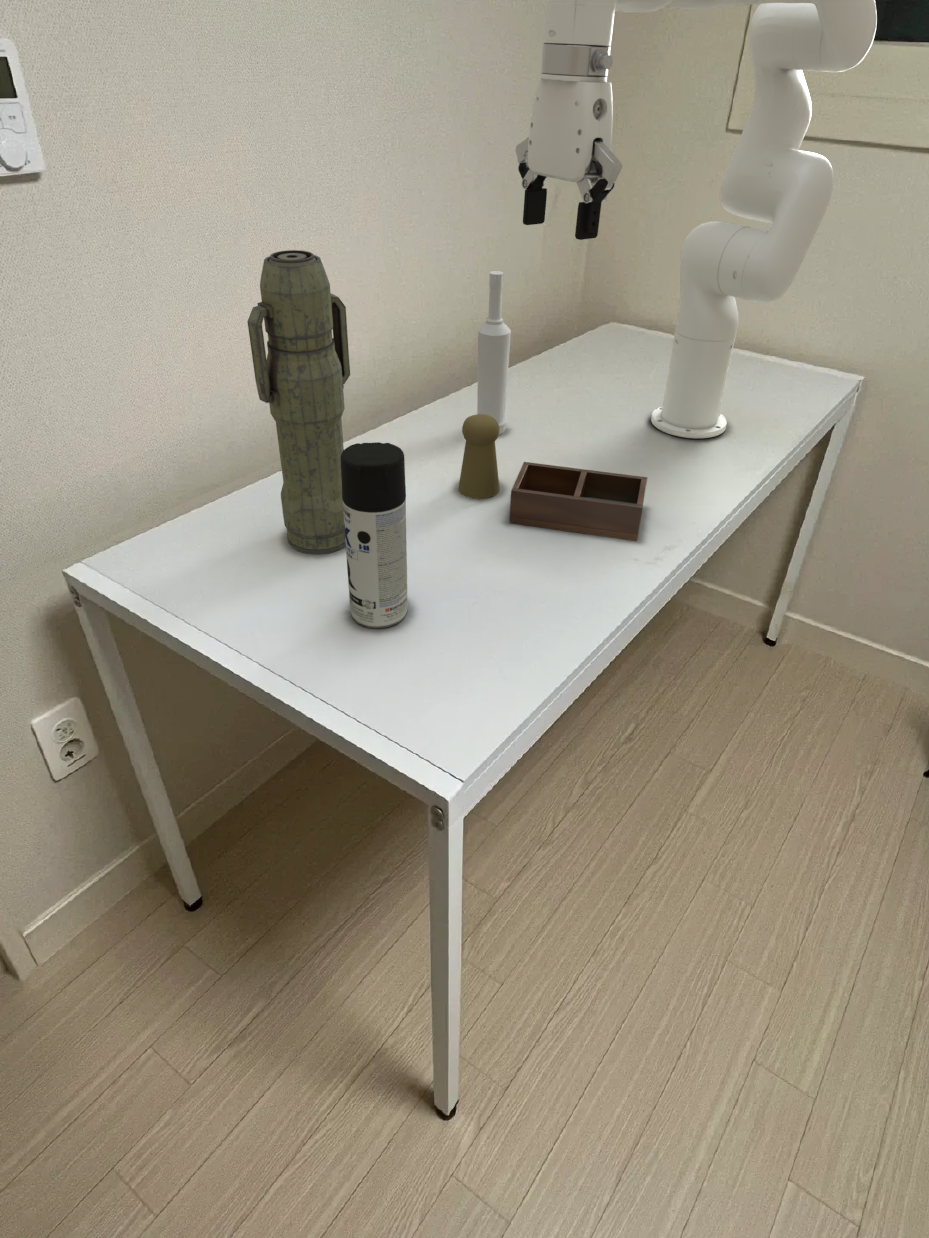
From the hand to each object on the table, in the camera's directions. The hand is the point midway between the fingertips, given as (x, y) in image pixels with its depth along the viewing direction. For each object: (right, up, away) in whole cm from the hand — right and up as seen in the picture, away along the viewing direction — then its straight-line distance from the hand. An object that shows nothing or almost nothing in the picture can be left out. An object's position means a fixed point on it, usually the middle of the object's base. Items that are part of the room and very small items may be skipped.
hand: (558, 231), depth 102 cm
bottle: (-7, -17, +36) cm, 40 cm away
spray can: (-22, -48, -6) cm, 53 cm away
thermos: (-31, -37, +7) cm, 49 cm away
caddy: (+4, -34, +13) cm, 36 cm away
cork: (-10, -29, +19) cm, 36 cm away
